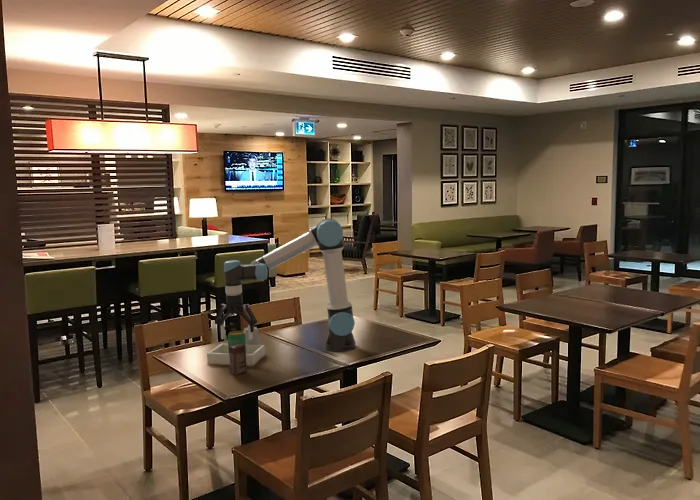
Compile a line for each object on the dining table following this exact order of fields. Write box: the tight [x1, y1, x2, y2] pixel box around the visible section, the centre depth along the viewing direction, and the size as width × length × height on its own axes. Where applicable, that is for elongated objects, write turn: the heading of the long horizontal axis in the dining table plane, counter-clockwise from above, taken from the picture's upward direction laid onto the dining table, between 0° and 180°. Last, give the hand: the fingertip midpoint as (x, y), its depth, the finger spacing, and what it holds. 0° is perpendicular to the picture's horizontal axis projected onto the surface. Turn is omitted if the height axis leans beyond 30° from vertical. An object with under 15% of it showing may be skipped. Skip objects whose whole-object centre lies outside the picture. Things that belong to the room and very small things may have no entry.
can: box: [243, 326, 260, 345], centre depth 275 cm, size 8×8×12 cm
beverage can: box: [227, 330, 246, 352], centre depth 263 cm, size 8×8×12 cm
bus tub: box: [206, 343, 266, 367], centre depth 263 cm, size 22×16×5 cm
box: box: [229, 344, 248, 376], centre depth 244 cm, size 6×4×12 cm
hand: (237, 338), depth 262 cm, fingers open, 13 cm apart
